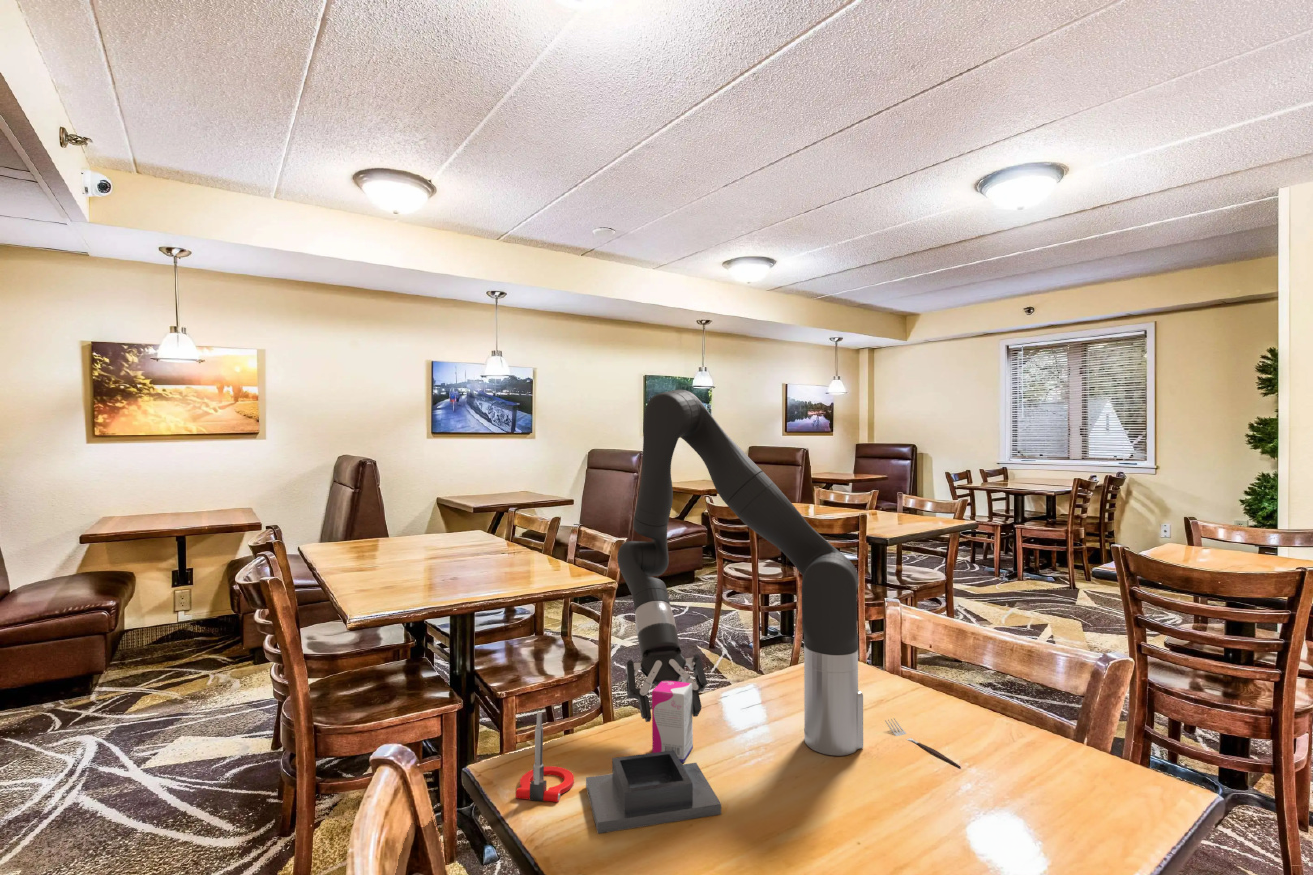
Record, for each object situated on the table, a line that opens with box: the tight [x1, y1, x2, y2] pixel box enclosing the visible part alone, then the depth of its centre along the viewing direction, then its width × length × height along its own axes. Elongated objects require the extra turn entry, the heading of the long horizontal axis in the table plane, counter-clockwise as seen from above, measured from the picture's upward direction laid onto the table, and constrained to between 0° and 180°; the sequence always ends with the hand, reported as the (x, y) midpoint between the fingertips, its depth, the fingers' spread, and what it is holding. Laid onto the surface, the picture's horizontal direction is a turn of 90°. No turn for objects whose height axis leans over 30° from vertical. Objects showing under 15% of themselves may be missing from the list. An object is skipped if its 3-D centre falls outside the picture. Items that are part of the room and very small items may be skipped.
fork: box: [884, 718, 962, 769], centre depth 112 cm, size 3×16×2 cm, turn 24°
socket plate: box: [585, 750, 722, 834], centre depth 96 cm, size 18×12×4 cm, turn 104°
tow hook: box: [515, 712, 575, 803], centre depth 100 cm, size 8×13×9 cm
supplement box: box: [651, 680, 694, 764], centre depth 110 cm, size 6×6×12 cm
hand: (672, 717), depth 110 cm, fingers open, 8 cm apart
